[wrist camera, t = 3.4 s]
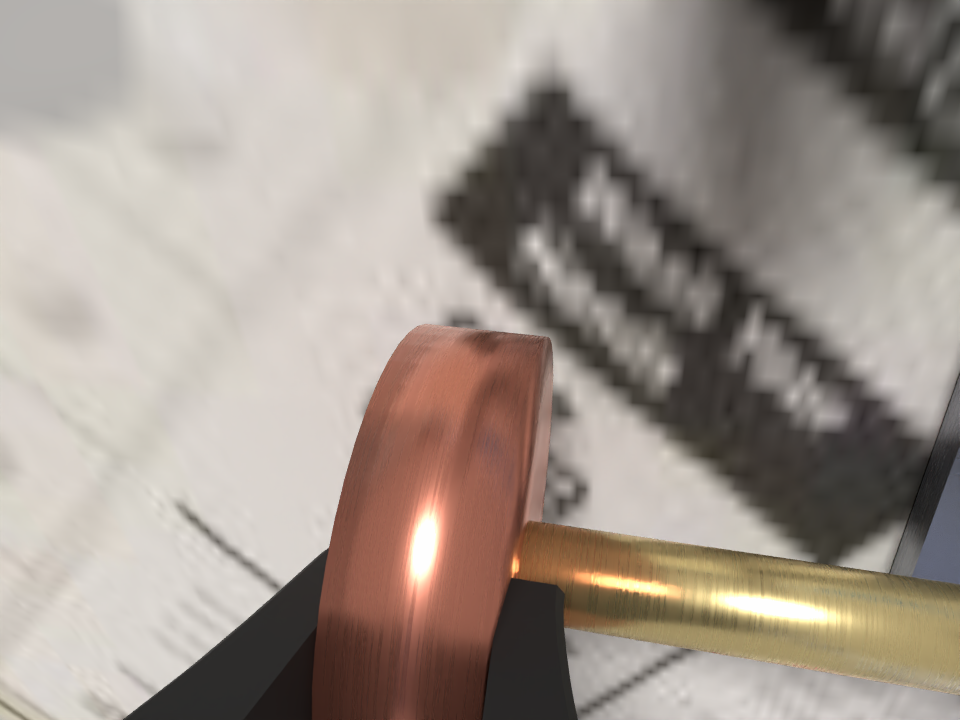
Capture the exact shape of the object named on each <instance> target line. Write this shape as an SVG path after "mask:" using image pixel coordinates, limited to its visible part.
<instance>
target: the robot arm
mask: <svg viewBox="0 0 960 720" xmlns="http://www.w3.org/2000/svg"><path fill="white" fill-rule="evenodd" d="M328 551H329V548H328V549H327V550H325V551H324V552H322V553H321V554H320V555H319V556H318V557H317V558H315V559H314V560H313V561H312V562H311V563H310V564H309V565H308V566H306V567H305V568H304V569H303V570H302V571H301V572H300V573H299V574H298V575H296V576H295V577H294V578H293V579H292V580H291V581H290V582H289V583H288V584H286V585H285V586H284V587H283V588H282V589H281V590H280V591H279V592H278V593H276V594H275V595H274V596H273V597H272V598H271V599H270V600H269V601H267V602H266V603H265V604H264V605H263V606H262V607H261V608H259V609H258V610H257V611H256V612H255V613H254V614H253V615H251V616H250V617H249V618H248V619H247V620H246V621H245V622H243V623H242V624H241V625H240V626H239V627H238V628H236V629H235V630H234V631H233V632H232V633H230V634H229V635H228V636H227V637H226V638H224V639H223V640H222V641H221V642H220V643H219V644H217V645H216V646H215V647H214V648H213V649H211V650H210V651H209V652H208V653H207V654H206V655H204V656H203V657H202V658H201V659H200V660H198V661H197V662H196V663H195V664H194V665H192V666H191V667H190V668H189V669H187V670H186V671H185V672H184V673H182V674H181V675H180V676H178V677H177V678H176V679H175V680H173V681H172V682H171V683H169V684H168V685H167V686H166V687H164V688H163V689H162V690H160V691H159V692H158V693H157V694H155V695H154V696H153V697H151V698H150V699H149V700H148V701H146V702H145V703H144V704H142V705H141V706H140V707H138V708H137V709H136V710H135V711H133V712H132V713H131V714H129V715H128V716H127V717H126V718H124V719H123V720H312V681H313V665H314V650H315V640H316V632H317V623H318V614H319V605H320V599H321V592H322V586H323V580H324V573H325V567H326V561H327V556H328ZM564 598H565V594H564V592H563V591H562V590H561V589H560V588H559V587H558V586H557V585H553V584H547V583H541V582H535V581H529V580H522V579H516V578H511V580H510V584H509V587H508V590H507V593H506V596H505V599H504V602H503V606H502V609H501V613H500V616H499V620H498V623H497V627H496V630H495V634H494V637H493V644H492V651H491V658H490V666H489V673H488V681H487V689H486V696H485V704H484V711H483V719H482V720H578V718H577V714H576V709H575V704H574V699H573V694H572V688H571V682H570V676H569V668H568V661H567V654H566V645H565V634H564Z"/></svg>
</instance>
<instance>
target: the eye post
mask: <svg viewBox="0 0 960 720" xmlns="http://www.w3.org/2000/svg"><path fill="white" fill-rule="evenodd" d="M890 574H894V575H901V576H908V577H915V578H921V579H928V580H935V581H942V582H948V583H955V584H960V376H959V378H958V381H957V384H956V387H955V390H954V393H953V395H952V398H951V401H950V404H949V407H948V410H947V413H946V415H945V418H944V421H943V424H942V427H941V430H940V432H939V435H938V438H937V441H936V444H935V447H934V450H933V452H932V455H931V458H930V461H929V464H928V467H927V469H926V472H925V475H924V478H923V481H922V484H921V487H920V489H919V492H918V495H917V498H916V501H915V504H914V506H913V509H912V512H911V515H910V518H909V521H908V524H907V526H906V529H905V532H904V535H903V538H902V541H901V543H900V546H899V549H898V552H897V555H896V558H895V561H894V563H893V566H892V569H891V572H890Z"/></svg>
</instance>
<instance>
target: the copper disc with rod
mask: <svg viewBox="0 0 960 720" xmlns="http://www.w3.org/2000/svg"><path fill="white" fill-rule="evenodd" d="M552 394H553V352H552V344H551V340H550V338H549V337H544V336H534V335H525V334H515V333H506V332H497V331H487V330H478V329H468V328H459V327H450V326H440V325H431V324H424V325H420V326H417V327H416V328H414V329H413V330H412V331H410V332H409V333H408V334H407V335H406V336H405V338H404V339H403V340H402V341H401V342H400V343H399V345H398V346H397V348H396V350H395V351H394V353H393V354H392V356H391V358H390V359H389V361H388V363H387V365H386V367H385V369H384V371H383V373H382V375H381V377H380V379H379V381H378V383H377V385H376V388H375V390H374V393H373V395H372V397H371V400H370V402H369V405H368V407H367V410H366V413H365V415H364V418H363V421H362V424H361V427H360V430H359V433H358V436H357V439H356V442H355V445H354V448H353V452H352V455H351V459H350V462H349V466H348V469H347V472H346V476H345V479H344V484H343V488H342V492H341V496H340V500H339V504H338V508H337V512H336V517H335V521H334V526H333V531H332V536H331V541H330V546H329V551H328V556H327V561H326V567H325V573H324V580H323V586H322V592H321V599H320V605H319V614H318V623H317V632H316V640H315V650H314V665H313V681H312V720H482V719H483V711H484V704H485V696H486V689H487V681H488V673H489V666H490V658H491V651H492V644H493V637H494V634H495V630H496V627H497V623H498V620H499V616H500V613H501V609H502V606H503V602H504V599H505V596H506V593H507V590H508V587H509V584H510V580H511V578H516V579H522V580H529V581H535V582H541V583H547V584H553V585H557V586H558V587H559V588H560V589H561V590H562V591H563V592H564V594H565V598H564V628H570V629H576V630H581V631H587V632H593V633H599V634H605V635H611V636H617V637H622V638H628V639H634V640H640V641H646V642H652V643H657V644H663V645H669V646H675V647H681V648H687V649H692V650H698V651H704V652H710V653H716V654H722V655H728V656H733V657H739V658H745V659H751V660H757V661H763V662H768V663H774V664H780V665H786V666H792V667H798V668H803V669H809V670H815V671H821V672H827V673H833V674H838V675H844V676H850V677H856V678H862V679H868V680H874V681H879V682H885V683H891V684H897V685H903V686H909V687H914V688H920V689H926V690H932V691H938V692H944V693H949V694H955V695H960V584H955V583H948V582H942V581H935V580H928V579H921V578H915V577H908V576H901V575H894V574H888V573H881V572H874V571H867V570H861V569H854V568H847V567H840V566H834V565H827V564H820V563H813V562H807V561H800V560H793V559H786V558H780V557H773V556H766V555H759V554H753V553H746V552H739V551H732V550H726V549H719V548H712V547H705V546H699V545H692V544H685V543H678V542H672V541H665V540H658V539H651V538H645V537H638V536H631V535H624V534H618V533H611V532H604V531H597V530H591V529H584V528H577V527H571V526H564V525H557V524H550V523H544V522H542V515H543V506H544V496H545V487H546V476H547V466H548V454H549V442H550V429H551V414H552Z"/></svg>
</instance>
